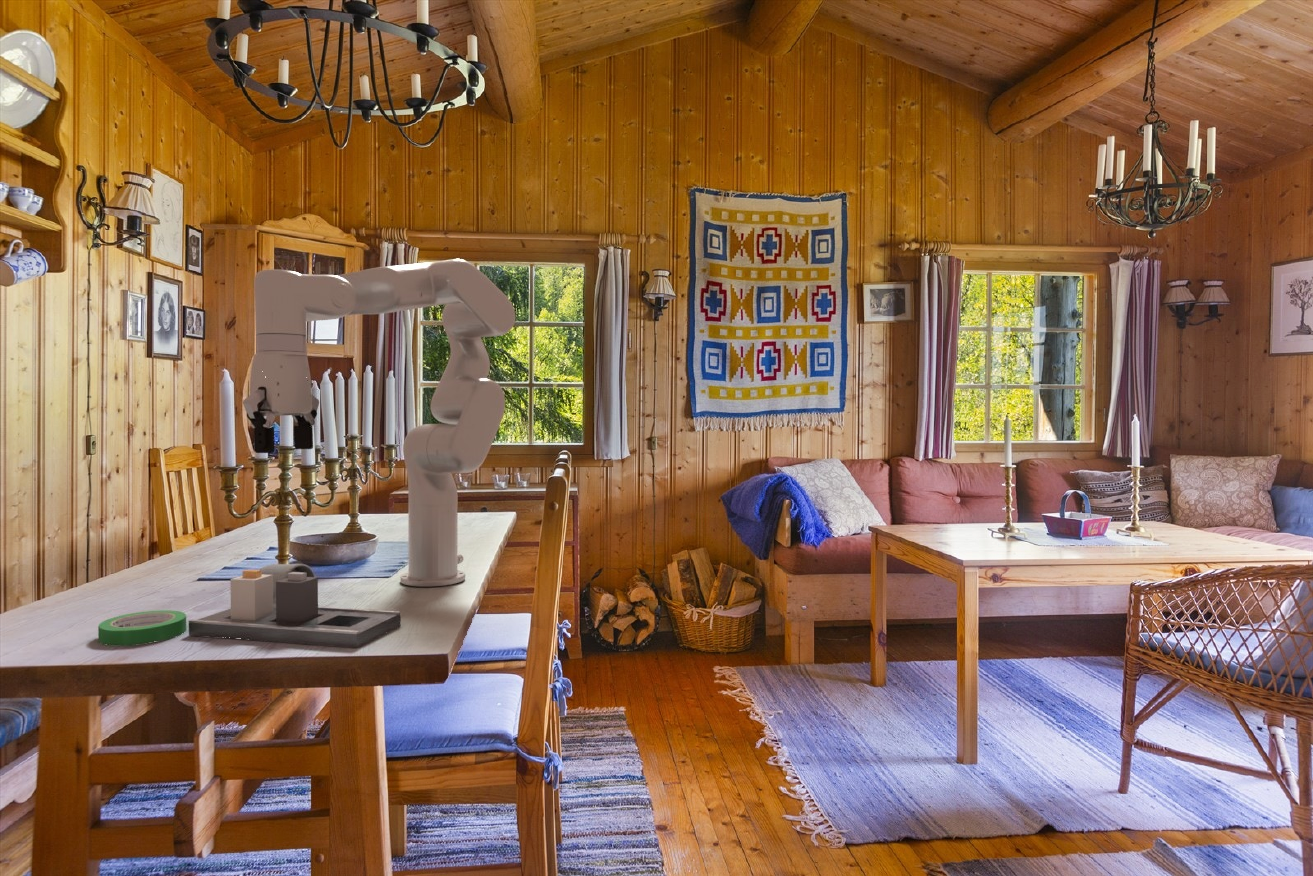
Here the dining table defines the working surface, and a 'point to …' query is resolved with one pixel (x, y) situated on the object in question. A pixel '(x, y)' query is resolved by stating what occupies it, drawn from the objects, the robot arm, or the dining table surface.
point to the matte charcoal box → (297, 598)
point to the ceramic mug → (284, 573)
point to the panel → (303, 627)
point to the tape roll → (142, 627)
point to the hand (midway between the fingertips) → (285, 450)
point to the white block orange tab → (251, 595)
